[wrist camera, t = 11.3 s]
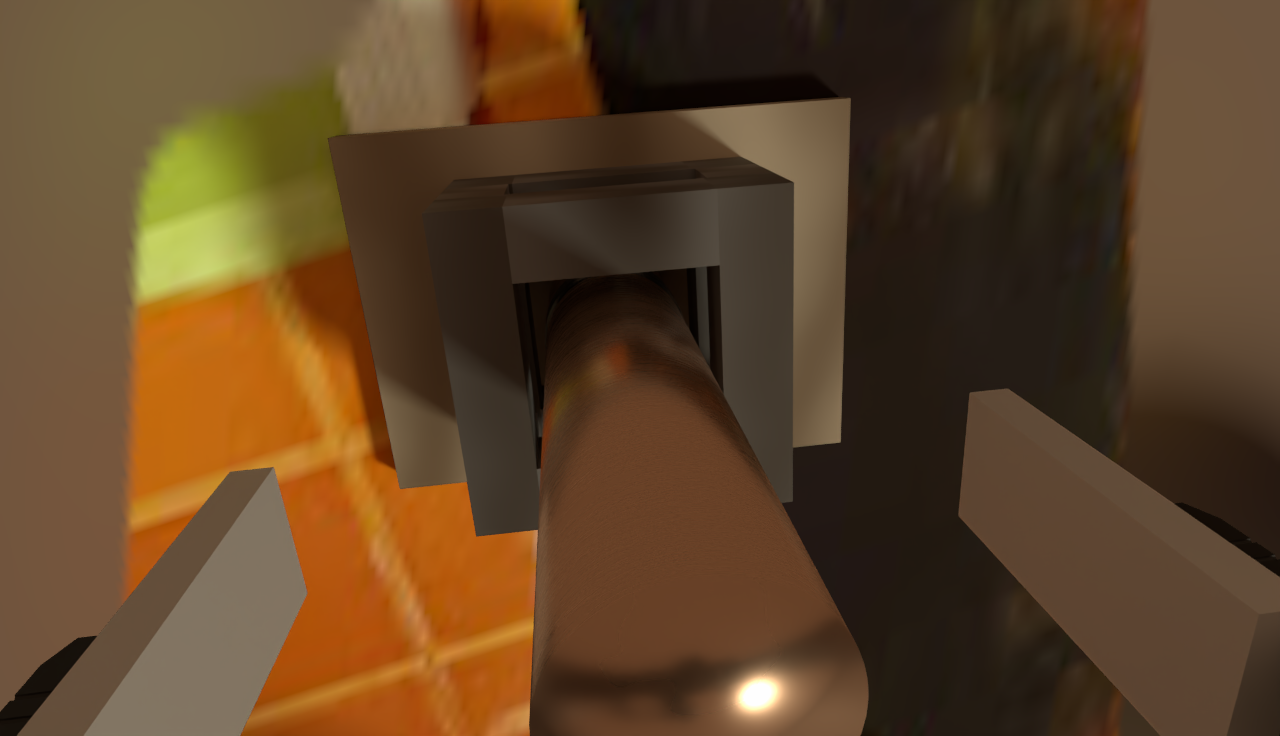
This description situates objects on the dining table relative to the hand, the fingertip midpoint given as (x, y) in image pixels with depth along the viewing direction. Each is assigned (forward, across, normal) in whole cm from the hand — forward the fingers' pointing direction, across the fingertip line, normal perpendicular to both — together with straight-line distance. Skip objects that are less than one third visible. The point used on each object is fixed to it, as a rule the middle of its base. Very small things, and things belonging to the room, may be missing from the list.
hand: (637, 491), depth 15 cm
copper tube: (+12, 0, 0) cm, 12 cm away
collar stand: (+13, 0, 0) cm, 13 cm away
